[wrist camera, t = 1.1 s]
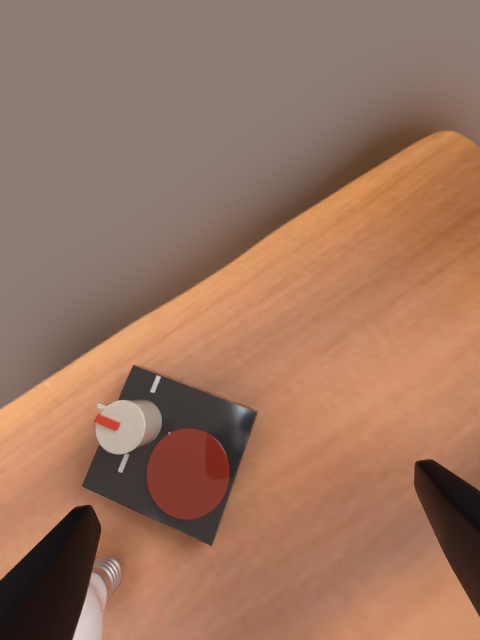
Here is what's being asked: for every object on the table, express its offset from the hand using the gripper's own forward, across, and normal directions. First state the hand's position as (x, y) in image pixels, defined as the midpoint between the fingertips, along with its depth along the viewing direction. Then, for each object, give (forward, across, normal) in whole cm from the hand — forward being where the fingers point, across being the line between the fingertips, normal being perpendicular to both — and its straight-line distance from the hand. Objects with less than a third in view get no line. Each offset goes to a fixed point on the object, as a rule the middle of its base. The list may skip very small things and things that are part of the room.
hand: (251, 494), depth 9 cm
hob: (+15, +7, +11) cm, 20 cm away
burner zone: (+12, +6, +11) cm, 18 cm away
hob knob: (+15, +10, +8) cm, 19 cm away
